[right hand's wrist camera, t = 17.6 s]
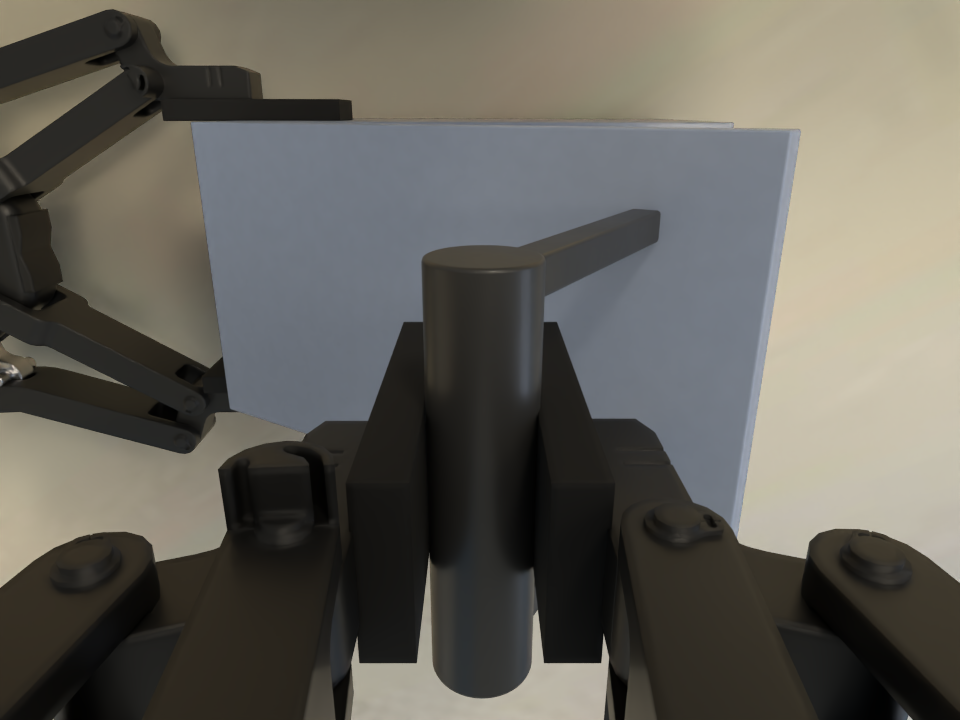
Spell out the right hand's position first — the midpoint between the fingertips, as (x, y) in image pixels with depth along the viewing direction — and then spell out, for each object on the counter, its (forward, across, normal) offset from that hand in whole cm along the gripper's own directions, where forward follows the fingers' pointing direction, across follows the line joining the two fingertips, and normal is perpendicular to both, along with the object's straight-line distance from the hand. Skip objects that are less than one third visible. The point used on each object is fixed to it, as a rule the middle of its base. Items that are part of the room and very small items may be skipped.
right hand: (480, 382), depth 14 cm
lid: (+6, -1, 0) cm, 6 cm away
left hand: (+14, -5, 0) cm, 15 cm away
